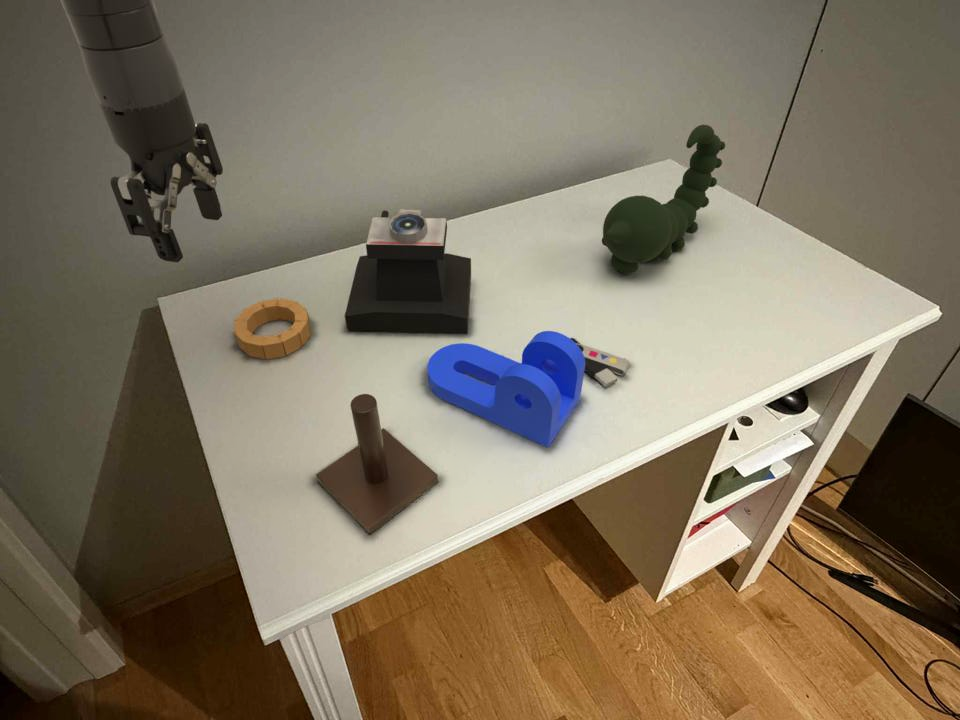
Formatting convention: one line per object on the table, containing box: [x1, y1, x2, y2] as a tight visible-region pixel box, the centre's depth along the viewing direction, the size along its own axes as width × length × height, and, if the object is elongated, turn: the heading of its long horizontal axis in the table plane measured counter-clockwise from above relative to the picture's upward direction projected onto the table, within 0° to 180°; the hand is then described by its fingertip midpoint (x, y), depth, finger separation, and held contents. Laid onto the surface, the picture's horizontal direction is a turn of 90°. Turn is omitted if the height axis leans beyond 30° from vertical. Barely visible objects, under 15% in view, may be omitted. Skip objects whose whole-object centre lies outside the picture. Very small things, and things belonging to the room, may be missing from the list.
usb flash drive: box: [569, 337, 630, 388], centre depth 80 cm, size 9×5×1 cm, turn 33°
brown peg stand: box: [315, 393, 439, 535], centre depth 63 cm, size 9×9×12 cm
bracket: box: [427, 330, 586, 448], centre depth 73 cm, size 18×8×9 cm, turn 59°
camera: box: [344, 209, 472, 335], centre depth 84 cm, size 16×14×15 cm
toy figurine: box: [601, 124, 726, 275], centre depth 92 cm, size 9×19×25 cm
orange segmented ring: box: [233, 297, 312, 360], centre depth 83 cm, size 9×9×2 cm
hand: (193, 238), depth 71 cm, fingers open, 8 cm apart
